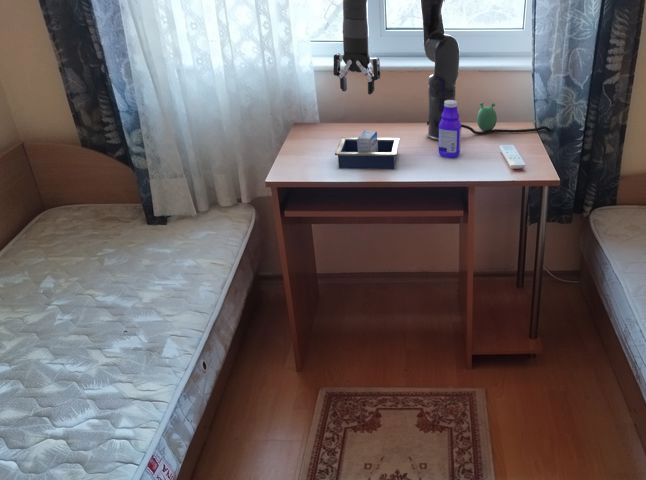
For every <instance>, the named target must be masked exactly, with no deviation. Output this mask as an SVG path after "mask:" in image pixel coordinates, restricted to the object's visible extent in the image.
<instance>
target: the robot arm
mask: <svg viewBox="0 0 646 480" xmlns="http://www.w3.org/2000/svg"><path fill="white" fill-rule="evenodd" d="M368 2H369V1H368V0H342V47H343V54H340V53H339V52H338V53H335V54H334V55H333V75H334V76H335V77H336V76H337V77H339V86H340V90H341V91H342V92H346V91H347V90H348V85H347V84H348V83H347V75H348V73H349V72H352V73H353V72H356V73H362V75H364V76H365V78H366V79H367V94H368V95H370V96H371V95H372V94H373V93H374V92H375V81H378V80H379V79H381V64H380V62H381V61H380V58H379V57H378V56H377V57H370V29H369V28H370V26H369V16H368V13H369V11H368V9H369V8H368ZM445 2H446V0H419V3H420V4H419V5H420V11H421V18H422V37H423V50H424V54H425V56H426V58H427V59H428V60H429V61H431V62H432V63H434V72H433V74H431V75H429V76H428V81H427V82H428V84H427V85H428V88H427V91H428V92H427V93H428V94H427V95H428V96H427V97H428V98H427V99H428V101H427V102H428V106H427V107H428V109H427V111H428V112H427V114H428V115H427V117H428V119H427V121H426V126H427V127H428V129H427V130H428V133H427V136H428V137H427V138H429V139H431V140H433V141H439V124H440V121H441V119H442V116H441V115H442V113H443V110H444V101H446V100H455V101H456V89H457V87H456V85H457V80H458V77H459V72H460V71H459V69H460V56H461V55H460V53H461V51H460V44H459V41H458V40H457V39H456V38H455V37H454V36H452V35H450V34H447V33H446V30H445V24H444V18H443V17H444V16H443V14H444V13H443V12H444V6H445ZM342 61H343V62H344V64H345V65H344V67H343V68H342V69H341V63H342ZM369 65H371V66H372V69H371V68H370V66H369ZM341 70H342V71H341ZM372 72H373V73H372ZM548 127H549V126H547V127H546V125H542V126H539V127H535V128H522V129H521V128H519V129H504V128H498V129H497V128H493V129H492V130H488V131H483V130H482V131H478V130H477V131H476V130H475V129H474V128H473V127H471V126H469V125H467V124H462V123H461V128H463V129H466V130H469V131H471V132H472V133H473V134H474V135H479V136H480V135H487V134H492V133H512V134H513V133H529V132H538V131H540V130H547V131H548V132H550V131H552V129H551V128H550V127H549V128H548Z"/></svg>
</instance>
